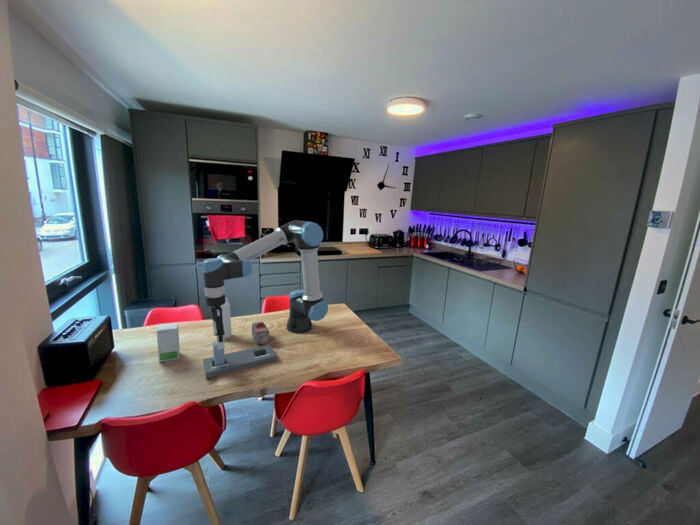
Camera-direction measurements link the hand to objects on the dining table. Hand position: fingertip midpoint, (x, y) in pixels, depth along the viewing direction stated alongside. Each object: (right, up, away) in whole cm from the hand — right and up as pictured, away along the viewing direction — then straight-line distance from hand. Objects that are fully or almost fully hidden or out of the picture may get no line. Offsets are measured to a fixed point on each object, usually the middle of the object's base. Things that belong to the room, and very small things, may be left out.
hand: (219, 341), depth 125 cm
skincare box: (-27, -10, +9) cm, 31 cm away
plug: (-1, -12, +2) cm, 13 cm away
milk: (-12, -6, +31) cm, 34 cm away
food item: (+9, -8, +29) cm, 32 cm away
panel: (+7, -12, +7) cm, 16 cm away
